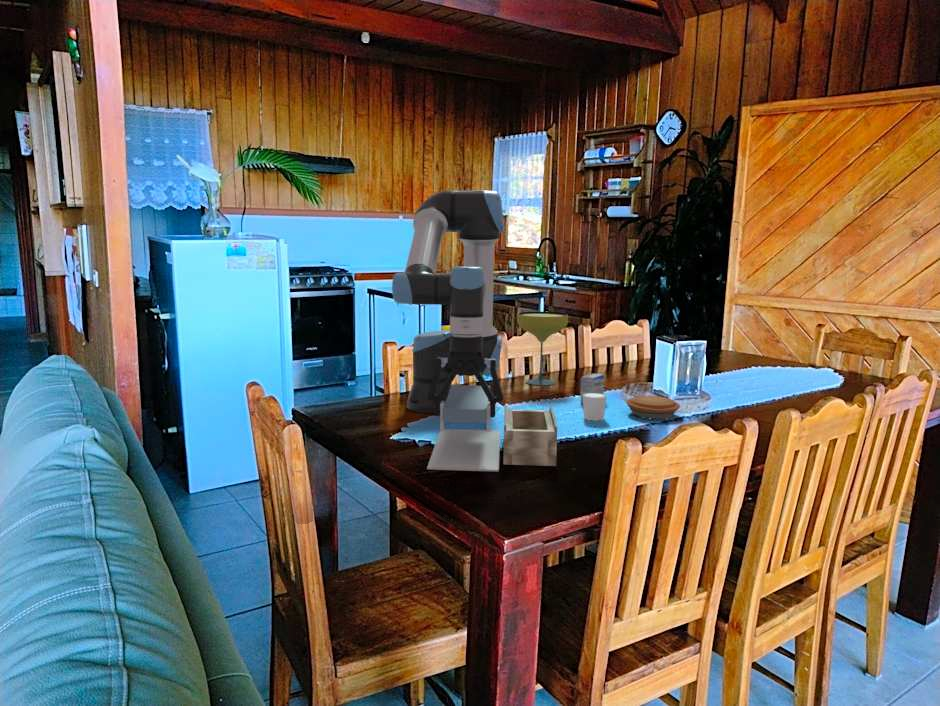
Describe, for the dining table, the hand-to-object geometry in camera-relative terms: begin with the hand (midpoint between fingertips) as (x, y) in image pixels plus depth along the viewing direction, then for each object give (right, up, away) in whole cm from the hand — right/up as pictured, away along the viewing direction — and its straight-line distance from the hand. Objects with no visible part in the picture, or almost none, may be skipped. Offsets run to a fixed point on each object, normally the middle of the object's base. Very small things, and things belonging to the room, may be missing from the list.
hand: (465, 430), depth 159 cm
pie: (+55, -1, +45) cm, 71 cm away
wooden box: (+15, -6, +7) cm, 18 cm away
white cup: (+37, -1, +40) cm, 55 cm away
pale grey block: (+1, +4, +9) cm, 10 cm away
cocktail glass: (+27, +7, +89) cm, 93 cm away
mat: (0, -6, +9) cm, 11 cm away
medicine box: (+40, +2, +61) cm, 73 cm away
